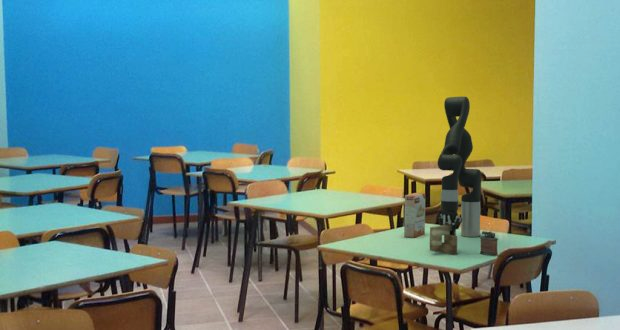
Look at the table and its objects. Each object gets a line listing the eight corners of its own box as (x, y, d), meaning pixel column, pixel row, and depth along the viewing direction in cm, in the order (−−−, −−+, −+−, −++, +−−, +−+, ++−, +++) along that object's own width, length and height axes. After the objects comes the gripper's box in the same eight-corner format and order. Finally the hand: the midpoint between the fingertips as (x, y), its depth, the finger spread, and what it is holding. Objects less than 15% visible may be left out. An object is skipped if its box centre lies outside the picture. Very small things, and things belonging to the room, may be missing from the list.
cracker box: (415, 238, 370) (415, 195, 369) (403, 237, 373) (403, 195, 372) (425, 234, 382) (425, 192, 381) (414, 233, 385) (414, 192, 384)
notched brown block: (429, 250, 340) (429, 232, 340) (433, 249, 342) (433, 231, 341) (453, 254, 329) (453, 236, 329) (457, 254, 331) (457, 236, 330)
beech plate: (429, 245, 332) (430, 227, 331) (451, 241, 340) (451, 223, 340) (434, 245, 330) (434, 227, 329) (455, 242, 338) (455, 224, 338)
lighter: (499, 254, 328) (499, 232, 328) (495, 256, 326) (495, 233, 325) (482, 252, 334) (482, 230, 333) (478, 253, 331) (478, 231, 330)
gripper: (432, 198, 339) (431, 237, 341) (455, 201, 328) (455, 241, 330) (443, 197, 344) (443, 235, 345) (467, 200, 333) (467, 239, 334)
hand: (449, 238), depth 337 cm, fingers closed on beech plate, 2 cm apart
